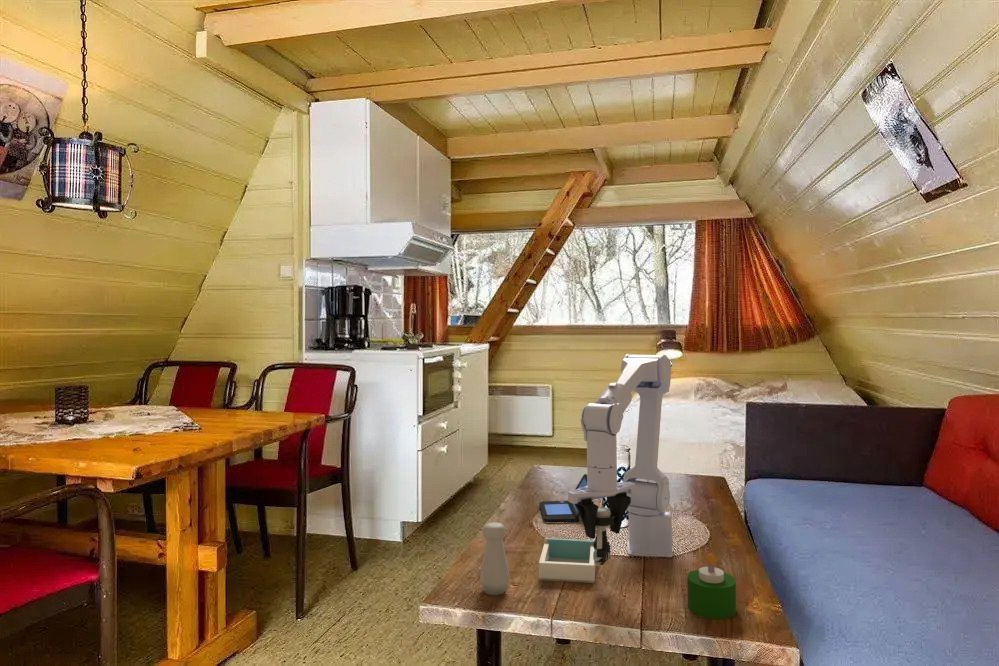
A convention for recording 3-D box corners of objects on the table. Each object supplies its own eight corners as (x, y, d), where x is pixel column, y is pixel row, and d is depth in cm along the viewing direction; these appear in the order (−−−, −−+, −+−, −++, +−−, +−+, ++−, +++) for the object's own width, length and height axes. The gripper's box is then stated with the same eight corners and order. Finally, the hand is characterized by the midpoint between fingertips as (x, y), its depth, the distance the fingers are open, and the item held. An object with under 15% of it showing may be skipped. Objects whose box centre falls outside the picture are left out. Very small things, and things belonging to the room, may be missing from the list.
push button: (610, 569, 118) (609, 516, 118) (582, 566, 120) (582, 513, 120) (618, 558, 124) (617, 507, 124) (591, 554, 127) (591, 505, 127)
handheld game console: (539, 506, 177) (538, 473, 177) (586, 505, 177) (586, 472, 177) (543, 524, 161) (543, 488, 161) (596, 523, 161) (595, 487, 161)
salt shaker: (481, 584, 125) (480, 519, 125) (509, 584, 125) (508, 519, 125) (479, 597, 119) (478, 529, 119) (509, 597, 119) (508, 529, 119)
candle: (746, 615, 111) (745, 558, 110) (705, 622, 108) (705, 564, 108) (717, 595, 119) (716, 543, 118) (678, 602, 116) (678, 548, 116)
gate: (594, 558, 137) (594, 540, 136) (594, 560, 136) (594, 541, 136) (544, 555, 139) (544, 537, 139) (544, 557, 138) (544, 539, 138)
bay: (595, 561, 136) (595, 545, 136) (594, 583, 125) (594, 565, 125) (544, 559, 138) (544, 543, 137) (539, 580, 127) (539, 562, 127)
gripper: (619, 456, 129) (620, 522, 130) (559, 465, 123) (560, 534, 123) (641, 463, 123) (642, 532, 123) (579, 473, 116) (580, 546, 117)
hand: (602, 534), depth 123 cm, fingers closed on push button, 5 cm apart
